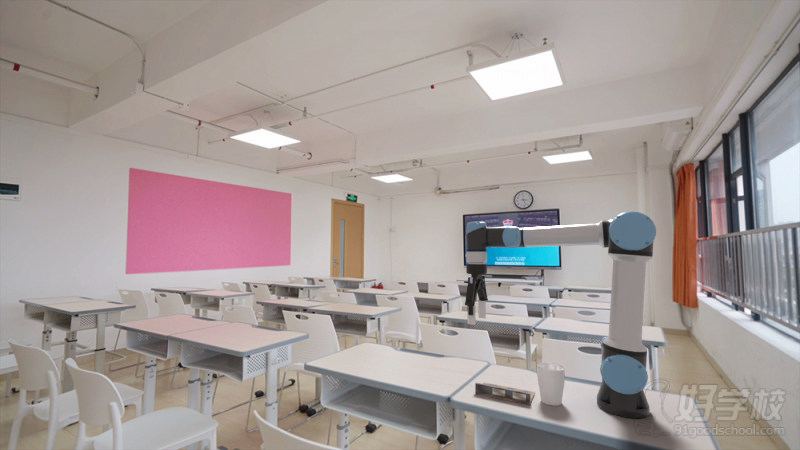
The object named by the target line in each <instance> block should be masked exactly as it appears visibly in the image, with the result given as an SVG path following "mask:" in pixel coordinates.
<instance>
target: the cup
mask: <svg viewBox="0 0 800 450" xmlns="http://www.w3.org/2000/svg"><path fill="white" fill-rule="evenodd" d="M536 368H537V370H536V375H537V382H538V383H537V384H538V389H539V395H540V396H539V397H540V401H541V402H542V403H543V404H546V405H549V406H553V407H554V406H560V405H561V404H562V401H563V396H564V387H565V379H566V374H565V372H566V371H565V367H564V366H563V365H561V364H559V363H553V362H540V363H538V364H537V366H536Z"/></svg>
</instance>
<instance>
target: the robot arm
mask: <svg viewBox="0 0 800 450" xmlns="http://www.w3.org/2000/svg"><path fill="white" fill-rule="evenodd" d="M465 231H466V232H465V240H466V241H465V245H466V247H465V248H466V250H465V251H466V253H465V256H464V257H465V258H466V259H465V260H466V261H465V262H467V264H466V266H465V267H466V269H465V270H466V271H465V272H466V273H465V274H467V275H470V277H469V276H468V277H467V286H466V293H465V295H466V296H465V302H464V305H465V306H466V307H467V310H466V311H467V325H471V326H472V325H473V326H475V325H476V323H477V322H476V320H477V319H476V318H477V317H478V319H487V307H486V305H487V304H486V302H488V301H489V298H488V292H487V286H486V278H485V277H486V276H485V275H487V273H488V265H487V263H488V253H487V252H488V251H487V250H488V248H510V249H516V248H537V247H539V248H541V247H542V248H543V247H544V248H545V247H567V246H568V247H570V246H601V247H602V248H606V249H608V250H607V255H608V256H609V257H611V259H612V273H611V275H612V276H611V288H610V289H611V291H610V306H609V307H610V309H609V321H608V322H609V324H608V335H607V336H604V337H602V338H601V343H600V346H601V347H600V350H601V360H600V361H601V364H600V368H599V370H600V375H601V383H600V386H599V389H598V392H597V395H596V404H597V406H598V407H599V408H600V409H602V411H604V412H607V413H609V414H613V415H616V416H620V417H623V418H628V419H629V418H630V419H645V418H648V417H649V416H650V409H651V408H650V405H649V401H648V399H647V397H646V393H645V390H644V389H645V388H646V385H647V383H648V379H649V375H648V371H647V361H648V360H647V359H648V348H647V347H646V346H645V345H644V344H643V342H642V341H643V339H642V337H643V324H644V323H643V320H644V306H645V288H646V286H645V285H646V273H647V272H646V269H647V263H648V262H649V261H650V260H651V259H653V254H654V241H655V239H656V236H657V227H656V225H655V223H654V221H653V220H652V218H650V216H648V215H647V214H645V213H642V212H639V211H624V212H620V213H619V214H617V215H616V216H615V217H613V218H611V219H602V220H600V221H599V222H598V223H596V222H595V223H583V224H567V225H563V224H562V225H552V226H551V225H550V226H549V225H548V226H533V227H532V226H531V227H518V226H511V225H510V226H509V225H508V226H492V227H491V226H487V223H486V222H485V221H470V222H467V223H466V230H465ZM477 296H478V300H477V301H478V302H477V304H478V307H477V309H478V313H476V305H475V304H476V299H477ZM477 314H478V316H477V317H476V315H477Z"/></svg>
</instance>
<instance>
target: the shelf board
mask: <svg viewBox="0 0 800 450" xmlns="http://www.w3.org/2000/svg"><path fill="white" fill-rule="evenodd" d="M474 388H475V389H474V390H475V392H474V393H475V395H479V396H485V397H490V398H495V399H498V400H504V401H510V402H513V403H518V404H519V403H520V404H523V405H528V406H531V404H532V402H533V399H534V397H535V395H536V391H532V390H526V389H520V388H516V387H515V388H514V387H510V386H504V385H499V384H493V383H488V382H482V383H480V382H475V385H474ZM534 394H535V395H534ZM531 401H532V402H531Z"/></svg>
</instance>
